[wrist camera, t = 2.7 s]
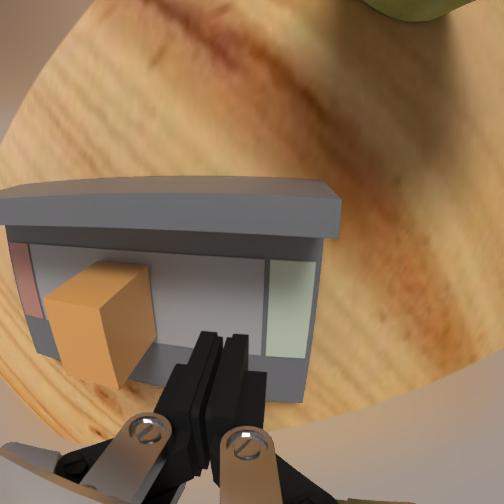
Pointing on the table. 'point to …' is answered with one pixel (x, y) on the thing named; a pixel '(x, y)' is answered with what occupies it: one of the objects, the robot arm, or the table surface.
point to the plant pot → (416, 8)
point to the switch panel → (185, 260)
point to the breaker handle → (103, 322)
